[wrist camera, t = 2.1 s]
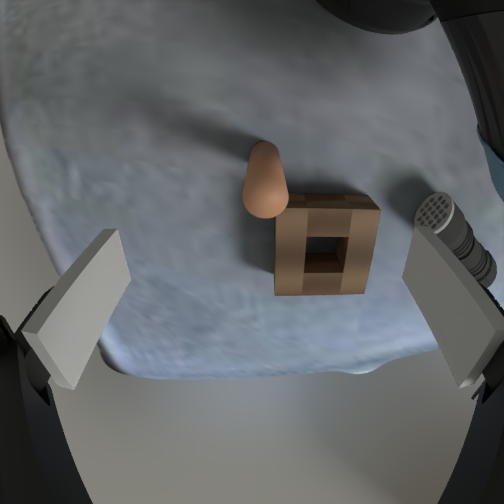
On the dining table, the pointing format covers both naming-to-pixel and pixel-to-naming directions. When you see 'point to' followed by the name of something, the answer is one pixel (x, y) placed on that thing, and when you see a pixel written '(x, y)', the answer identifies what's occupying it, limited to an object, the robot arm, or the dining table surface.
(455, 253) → the flashlight
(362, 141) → the dining table surface
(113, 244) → the robot arm
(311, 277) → the socket block
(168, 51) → the dining table surface
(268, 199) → the peg
